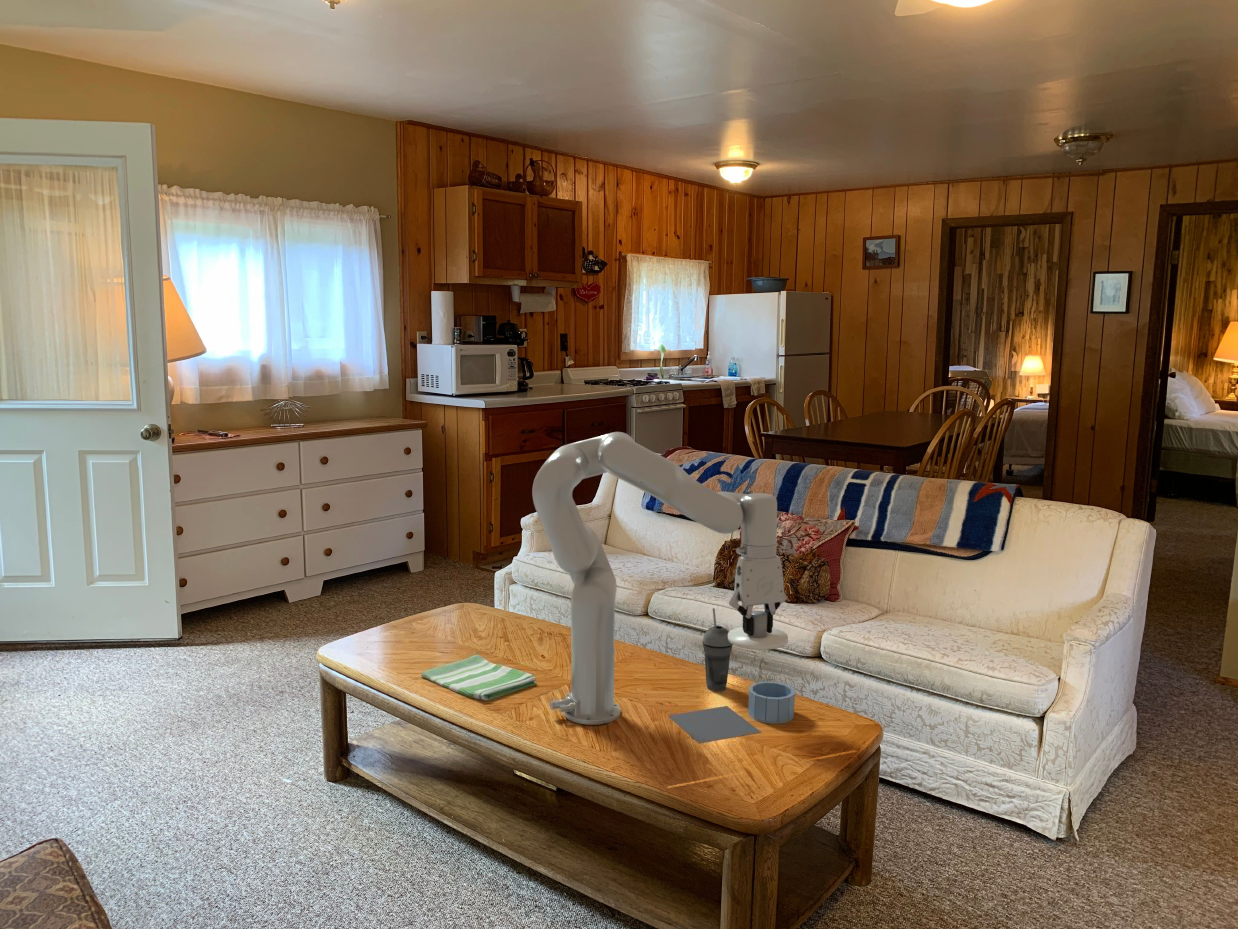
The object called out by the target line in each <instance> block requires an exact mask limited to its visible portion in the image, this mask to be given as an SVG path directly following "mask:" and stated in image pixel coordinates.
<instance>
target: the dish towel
mask: <svg viewBox="0 0 1238 929" xmlns="http://www.w3.org/2000/svg"><path fill="white" fill-rule="evenodd" d="M420 676H421V678H423V679H425V680H428V681H431V682H433V683H434V684H437V685H439V686H441V687H443V688H445V689H448V690H450V691H452V692H455V693H458V694H460V695H462V696H466V697H469V698H471V699H476V700H480V701H487V702H488V701H490V700H494V699H497V698H499V697H500V698H501V697H502V696H506V695H509V694H512V693H515V692H517V691H520V690H523V689H526V688H529V687H533V686H536V685H537V684H538V683H537V682H536V681H537V677H536V676H534V675H533V674H531V673H529V672H525V671H522V670H519V669H515V668H513V667H509V666H508V667H507V666H504V665H503V664H502V665H501V664H499V663H496V664H495V663H493V662H491V661H488V660H486V659H485V658H484V657H482V655H479V654H475V655H474V654H473V655H471V656H469V657H468V658H465V659H461V660H459V661H458V660H457V661H454V662H449V663H447V664H444V665H440V666H436V667H432V668H431V669H428V670H424V671H423V672H422V673H421V675H420Z"/></svg>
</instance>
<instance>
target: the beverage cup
mask: <svg viewBox="0 0 1238 929" xmlns="http://www.w3.org/2000/svg"><path fill="white" fill-rule="evenodd" d="M712 616H713V617H712V618H713V626H711V627H709V628H708V629H707V630H706V631H705V633H704V634H703V640H702V647H703V652H704V665H705V667H704V668H705V669H704V670H705V682H706V689H707V690H709V691H710V692H723V691H726V689H727V684H728V676H729V668H730V659H731V653H732V649H733V646H734V645H733V644H731V643H730V642H729V641H728V633H729V631H730V630H728V629H727V628H726V627H724V626H721V625H717V619H716V618H717V617H716V609H715V608H714V607H712Z"/></svg>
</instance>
